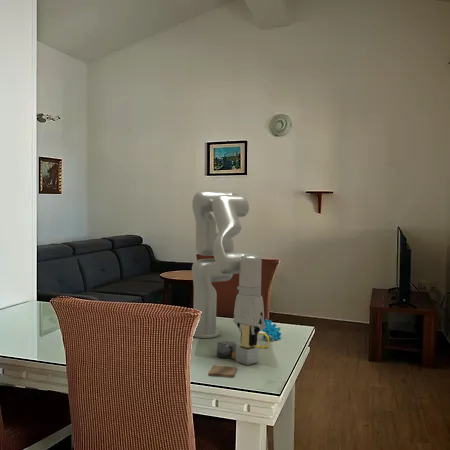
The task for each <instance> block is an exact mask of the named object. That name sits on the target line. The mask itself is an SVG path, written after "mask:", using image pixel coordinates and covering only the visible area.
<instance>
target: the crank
mask: <svg viewBox="0 0 450 450" xmlns="http://www.w3.org/2000/svg"><path fill="white" fill-rule="evenodd" d="M237 345H238V344H237V343H236V342H234V341H231V340H230V341H226V340H224V341H223V340H222V341H218V342H217V343H216V357H218V358H222V359H223V358H224V359H234V360H235V362H237V363H240V364H243V365H246V366H249V365H252V364H255V363H258V362H259V348H258V347H256V346H255V345H254V348H251V349H244V348H241V345H238V346H237Z"/></svg>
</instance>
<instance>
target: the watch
mask: <svg viewBox="0 0 450 450" xmlns="http://www.w3.org/2000/svg"><path fill="white" fill-rule="evenodd" d="M265 333H266V332H263V330H261V331H260V332H259V333H258V334H257V336H258V335H260V336H263V335H265V336H266V337H265V338H266V339H267V344H266V345H265V346H262V345H261V346H260V345H258V344H257V345H254V346H255V347H258V349H259V348H260V349H266V348H267V347H268V346H269V344H270V337H269V336H268V335H267V334H265Z"/></svg>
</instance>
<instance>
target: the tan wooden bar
mask: <svg viewBox="0 0 450 450" xmlns="http://www.w3.org/2000/svg"><path fill="white" fill-rule="evenodd" d="M250 334H252V333H251V326H248V325H244V324H242V339H241V338H240V344H241V345H240V346H241V348H244V349H251V348H254V346H255V345H254V346H250Z"/></svg>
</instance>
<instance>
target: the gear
mask: <svg viewBox="0 0 450 450" xmlns="http://www.w3.org/2000/svg"><path fill="white" fill-rule="evenodd" d="M264 323H265V325H266V328H264V329H262V330H261V331H262V332H265V334H267V335H268V337H269V336H270V337H269V340H270V339H271V341H272V340H274V341H276V342H278V340H280V339H281V338H282V337H281V335H282V333H281V332H280V330H281V329H282V328H281V327H280V326H278V327H277V324H276V323H275V322H274V323H273V321H272V320H271V319H270V320H268V319H267V318H264ZM272 323H273V324H272ZM262 337H263V338H267V337H266V336H265V335H262Z"/></svg>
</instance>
